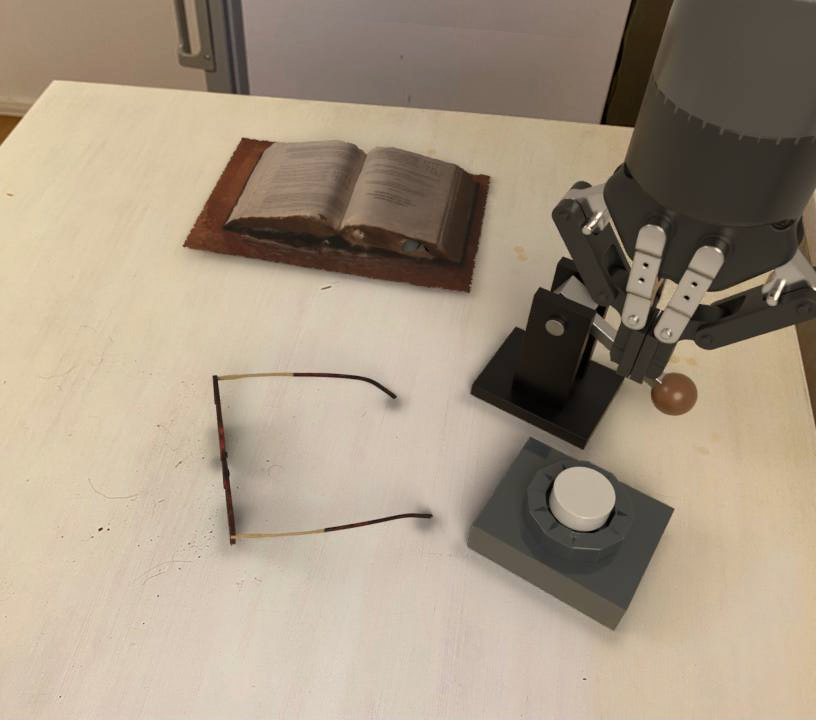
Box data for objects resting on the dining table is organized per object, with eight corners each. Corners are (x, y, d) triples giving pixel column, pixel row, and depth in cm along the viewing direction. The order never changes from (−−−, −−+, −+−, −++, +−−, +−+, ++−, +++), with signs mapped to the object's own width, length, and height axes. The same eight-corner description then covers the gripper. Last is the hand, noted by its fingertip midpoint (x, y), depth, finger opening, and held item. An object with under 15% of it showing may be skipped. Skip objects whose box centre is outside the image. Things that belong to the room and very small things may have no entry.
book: (470, 301, 75) (477, 262, 71) (181, 253, 78) (175, 214, 75) (489, 184, 88) (496, 147, 85) (242, 148, 92) (240, 111, 89)
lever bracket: (622, 385, 68) (663, 281, 59) (583, 450, 63) (622, 348, 54) (513, 336, 71) (537, 231, 63) (470, 394, 67) (489, 291, 58)
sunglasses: (214, 411, 66) (211, 370, 62) (390, 393, 69) (398, 353, 65) (232, 570, 57) (230, 534, 53) (435, 543, 59) (447, 506, 56)
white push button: (618, 498, 55) (625, 484, 54) (595, 542, 53) (601, 528, 52) (563, 471, 57) (568, 456, 55) (538, 512, 54) (543, 498, 53)
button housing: (661, 531, 59) (683, 494, 55) (614, 631, 54) (634, 598, 50) (522, 460, 63) (534, 421, 59) (467, 547, 58) (475, 510, 54)
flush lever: (682, 402, 62) (713, 386, 59) (667, 430, 60) (699, 415, 57) (553, 289, 62) (579, 268, 59) (535, 314, 60) (560, 293, 58)
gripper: (555, 68, 32) (493, 361, 45) (928, 182, 27) (736, 475, 40) (626, -5, 36) (551, 283, 49) (962, 83, 31) (778, 378, 44)
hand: (634, 369), depth 44 cm, fingers closed
